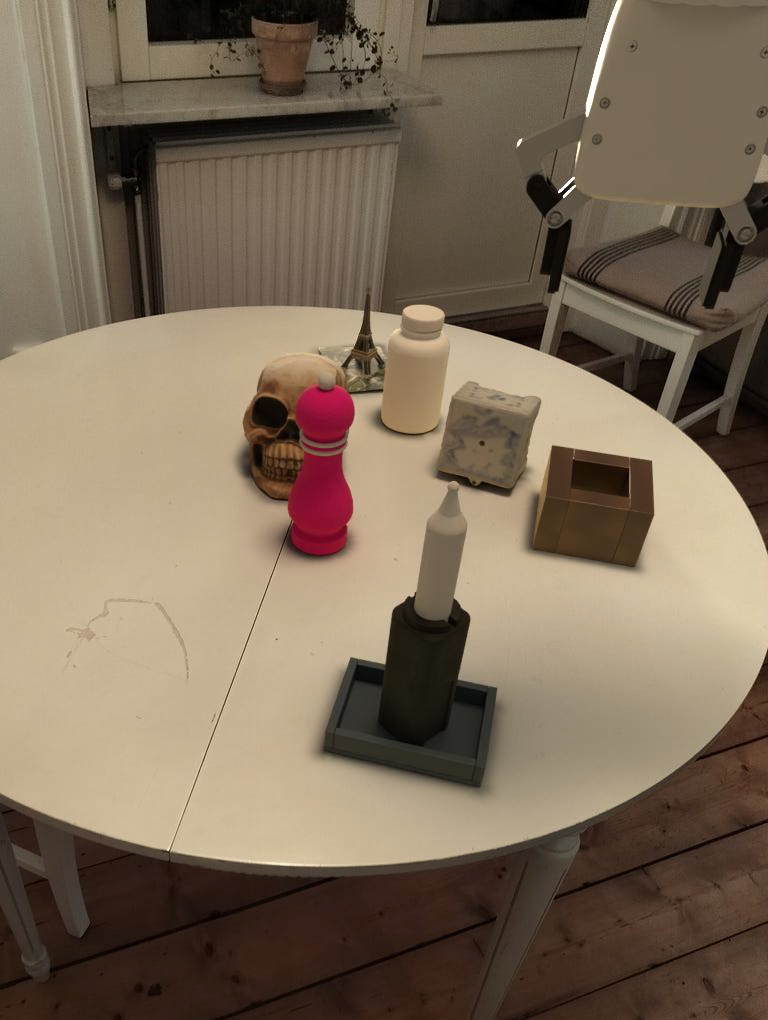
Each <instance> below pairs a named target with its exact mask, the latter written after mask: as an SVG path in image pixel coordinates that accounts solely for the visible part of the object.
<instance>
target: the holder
mask: <svg viewBox="0 0 768 1020" xmlns="http://www.w3.org/2000/svg"><path fill="white" fill-rule="evenodd" d="M653 470H654V469H653V460H651V459H644V458H638V457H633V456H632V457H631V456H627V455H625V456H624V455H618V454H612V453H606V452H601V451H600V452H599V451H592V450H588V449H587V450H585V449H579V448H574V447H566V446H562V445H561V446H560V445H556V444H555V445H553V444H552V445H551V448H550V451H549V455H548V459H547V463H546V467H545V471H544V475H543V479H542V483H541V486H540V489H539V490H540V491H539V494H538V501H537V508H536V516H535V523H534V531H533V539H532V546H531V549H532V550H538V551H543V552H549V553H553V554H554V553H555V554H560V555H566V556H571V557H578V558H583V559H589V560H595V561H600V562H605V563H610V564H611V563H612V564H616V565H623V566H629V567H633V568H635V567H636V566H637V563H638V561H639V557H640V555H641V553H642V550H643V547H644V544H645V541H646V539H647V536H648V534H649V530H650V528H651V525H652V523H653V520H654V518H655V493H654V473H653V472H654V471H653Z"/></svg>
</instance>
